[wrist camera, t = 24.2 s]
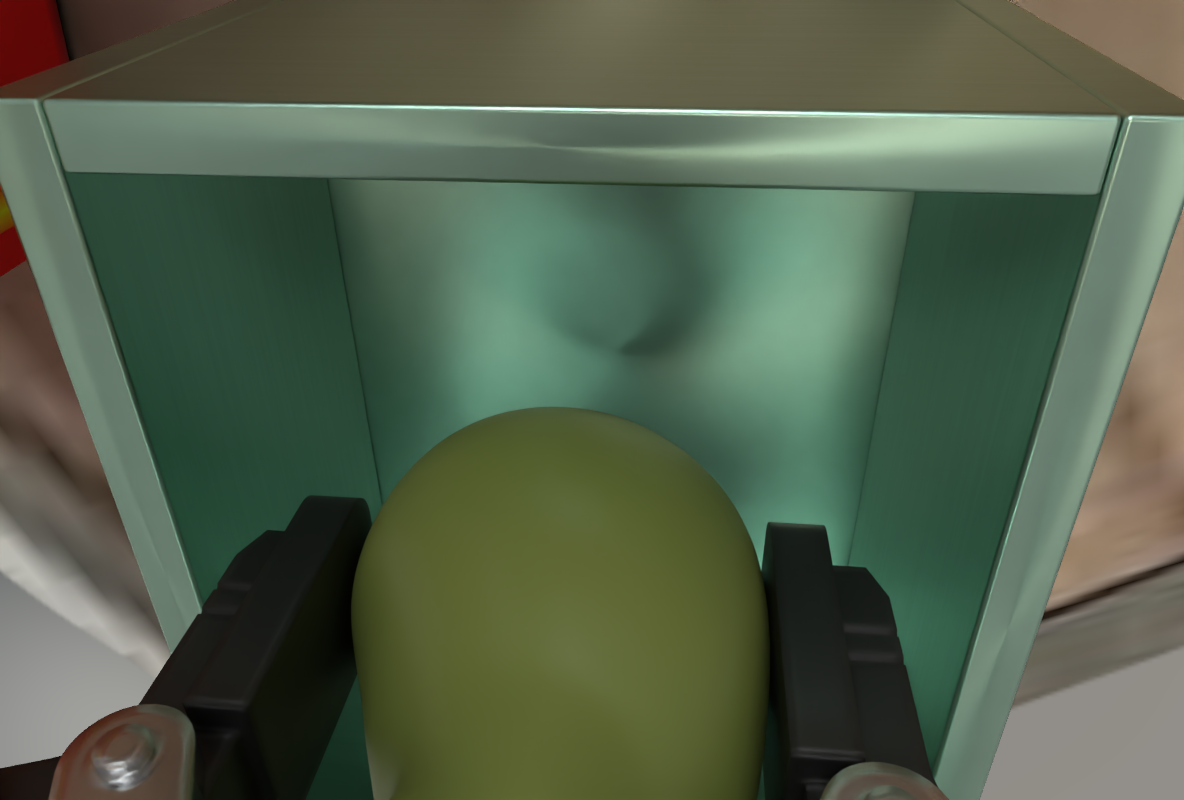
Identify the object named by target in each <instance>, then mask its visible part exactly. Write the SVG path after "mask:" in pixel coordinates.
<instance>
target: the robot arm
mask: <svg viewBox="0 0 1184 800" xmlns="http://www.w3.org/2000/svg"><path fill="white" fill-rule="evenodd" d="M371 527H372V521H371V515H370V510H369V506H368V504H367V502H366V500H365V499H363V498H355V497H337V496H319V495H309V496H307V497H306V498H305V499H304V500H303V502H302V503H301V505H300V506H299V508H298V510H297V511H296V513H295V515H294V516H293V518H292V520H291V521H290V523H289V525H288V526H287V528H286V530H285V531H277V530H267V531H265V532H264V533H263V534H262V535H260V536H259V537H258V538H256V539H255V540H254V541H253V542H251V543H250V544H249V545H248V546H246V547H245V548H244V549H242V550H241V551H240V552H239V553H237V554H236V556H235V557H234V559H233V560H232V562H231V563H230V565H229V566H228V568H227V569H226V571H225V573H224V574H223V576H222V577H221V579H220V580H219V582H218V583H217V584H218V586H217V589H214V590H213V591H212V593H211V594H210V596H209V597H208V599H207V600H206V602H205V603H204V605H203V606H202V612H201V614H197V616H196V617H195V619H194V620H193V622H192V623H191V625H190V627H189V628H188V630H187V631H186V633H185V634H184V636H183V637H182V639H181V640H180V642H179V643H178V645H177V647H176V648H175V650H174V651H173V653H172V654H171V656H170V657H169V659H168V660H167V662H166V664H165V665H164V667H163V668H162V670H161V671H160V673H159V674H158V676H157V677H156V679H155V681H154V682H153V684H152V685H151V687H150V688H149V690H148V691H147V693H146V694H145V696H144V697H143V699H142V701H141V702H140V703H139V705H137V706H132V707H129V708H125V709H122V710H119V711H117V712H114V713H112V714H109V715H108V716H106V717H104V718H102V719H100V720H98V721H97V722H96V723H94V724H92V725H91V726H89V727H88V728H87V729H85V730H84V731H83V732H82V733H81V734H79V735H78V736H77V738H75V739H74V741H73V742H72V743H71V744H70V745H69V746H68V748H67V749H66V750H65V752H64V753H63V755H62V756H59V757H55V758H51V759H46V760H41V761H36V762H31V763H26V764H21V765H15V766H11V767H5V768H0V800H306V797H307V795H308V792H309V790H310V788H311V785H312V783H313V780H314V778H315V775H316V773H317V771H318V768H319V766H320V763H321V761H322V758H323V756H324V754H325V751H326V749H327V746H328V744H329V742H330V739H331V737H332V734H333V732H334V729H335V727H336V725H337V722H338V720H339V717H340V715H341V712H342V710H343V708H344V705H345V703H346V700H347V698H348V695H349V693H350V691H351V688H352V686H353V683H354V681H355V679H356V676H357V668H356V661H355V654H354V647H353V638H352V625H351V600H352V590H353V583H354V578H355V573H356V568H357V565H358V561H359V558H360V554H361V551H362V548H363V546H364V543H365V540H366V538H367V535H368V533H369V531H370V529H371ZM761 572H762V576H763V581H764V586H765V592H766V599H767V606H768V616H769V629H770V686H769V703H768V716H767V728H766V738H765V747H764V756H763V776H764V792H765V800H949V799H948V798H947V797H946V795H945V794H944V793H943V792H942V791H941V790H940V789H939V788H938V786H937V784H936V782H935V780H934V778H933V775H932V772H931V769H930V765H929V761H928V757H927V753H926V749H925V744H924V740H923V736H922V732H921V728H920V724H919V719H918V715H917V711H916V707H915V703H914V698H913V694H912V690H911V686H910V682H909V677H908V673H907V669H906V665H904V656H903V652H902V648H901V644H900V640H899V637H897V627H896V623H895V619H894V614H893V610H892V606H891V602H890V598H889V596H888V595H887V593H886V592H885V591H884V590H883V588H882V587H881V586H880V585H879V583H878V582H877V581H876V579H875V578H874V577H873V576H872V574H871V573H870V572H869V571H868V569H867V568H866V567H855V566H838V565H833V564H832V558H831V552H830V547H829V541H828V535H827V530H826V527H825V525H816V524H798V523H780V522H768V524H767V527H766V534H765V543H764V551H763V560H762V569H761Z"/></svg>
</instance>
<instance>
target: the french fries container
mask: <svg viewBox="0 0 1184 800" xmlns="http://www.w3.org/2000/svg"><path fill="white" fill-rule="evenodd" d="M67 62H69V57H68V53H67V48H66V44H65V40H64V35H63V31H62V26H61V22H60V17H59V13H58V9H57V4H56V0H0V87H2V86H4V85H7V84H10V83H12V82H15V81H18V80H21V79H23V78H26V77H29V76H31V75H34V74H37V73H40V72H42V71H45V70H48V69H51V68H53V67H56V66H59V65H61V64H64V63H67ZM25 260H27V258H26V255H25V253H24V250H23V247H22V245H21V242H20V239H19V236H18V234H17V231H16V228H15V225H14V223H13V220H12V217H11V214H10V212H9V209H8V206H7V203H6V201H5V198H4V195H3V192H2V190H1V187H0V276H2V275H4V274H5V273H7V272H8V271H10V270H11V269H13V268H14V267H16V266H18V265H19V264H21V263H22V262H24V261H25Z"/></svg>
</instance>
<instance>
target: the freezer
mask: <svg viewBox="0 0 1184 800" xmlns="http://www.w3.org/2000/svg"><path fill="white" fill-rule="evenodd" d="M0 187H1V190H2V192H3V195H4V198H5V201H6V203H7V206H8V209H9V212H10V214H11V217H12V220H13V223H14V225H15V228H16V231H17V234H18V236H19V239H20V242H21V245H22V247H23V250H24V253H25V255H26V258H27V261H28V264H29V266H30V269H31V272H32V275H33V277H34V280H35V283H36V286H37V288H38V291H39V294H40V297H41V299H42V302H43V305H44V308H45V310H46V313H47V316H48V319H49V321H50V324H51V327H52V330H53V332H54V335H55V338H56V341H57V343H58V346H59V349H60V352H61V354H62V357H63V360H64V363H65V365H66V368H67V371H68V373H69V376H70V379H71V382H72V384H73V387H74V390H75V393H76V395H77V398H78V401H79V404H80V406H81V409H82V412H83V415H84V417H85V420H86V423H87V426H88V428H89V431H90V434H91V437H92V439H93V442H94V445H95V448H96V450H97V453H98V456H99V459H100V461H101V464H102V467H103V470H104V472H105V475H106V478H107V480H108V483H109V486H110V489H111V491H112V494H113V497H114V500H115V502H116V505H117V508H118V511H119V513H120V516H121V519H122V522H123V524H124V527H125V530H126V533H127V535H128V538H129V541H130V544H131V546H132V549H133V552H134V555H135V557H136V560H137V563H138V566H139V568H140V571H141V574H142V577H143V579H144V582H145V585H146V588H147V590H148V593H149V596H150V598H151V601H152V604H153V607H154V609H155V612H156V615H157V618H158V620H159V623H160V626H161V629H162V631H163V634H164V637H165V640H166V642H167V645H168V648H169V651H170V653H171V654H172V653H173V651H174V650H175V648H176V647H177V645H178V643H179V642H180V640H181V639H182V637H183V636H184V634H185V633H186V631H187V630H188V628H189V627H190V625H191V623H192V622H193V620H194V619H195V617H196V616H197V614H201V612H202V606H203V605H204V603H205V602H206V600H207V599H208V597H209V596H210V594H211V593H212V591H213V590H214V589H217V586H218V584H217V583H218V582H219V580H220V579H221V577H222V576H223V574H224V573H225V571H226V569H227V568H228V566H229V565H230V563H231V562H232V560H233V559H234V557H235V556H236V554H237V553H239V552H240V551H241V550H242V549H244V548H245V547H246V546H248V545H249V544H250V543H251V542H253V541H254V540H255V539H256V538H258V537H259V536H260V535H262V534H263V533H264V532H265V531H267V530H277V531H285V530H286V528H287V526H288V525H289V523H290V521H291V520H292V518H293V516H294V515H295V513H296V511H297V510H298V508H299V506H300V505H301V503H302V502H303V500H304V499H305V498H306V497H307V496H309V495H319V496H337V497H355V498H363V499H365V500H366V502H367V504H368V506H369V510H370V515H371V521H372V524H373V522H374V520H375V518H376V517H377V515H378V513H379V511H380V509H381V508H382V506H383V504H384V503H385V501H386V499H387V498H388V496H389V495H390V493H391V492H392V490H393V489H394V488H395V486H396V485H397V484H398V482H399V481H400V480H401V479H402V477H403V476H404V475H405V474H406V473H407V472H408V470H409V469H410V468H411V467H412V466H413V465H414V464H415V463H416V462H417V461H418V460H419V459H420V458H421V457H422V456H423V455H425V454H426V453H427V452H428V451H429V450H430V449H432V448H433V447H434V446H435V445H437V444H438V443H440V442H441V441H442V440H444V439H445V438H447V437H448V436H450V435H451V434H453V433H455V432H456V431H458V430H460V429H462V428H464V427H466V426H468V425H470V424H472V423H474V422H477V421H479V420H482V419H484V418H487V417H490V416H493V415H496V414H500V413H504V412H508V411H513V410H519V409H525V408H535V407H573V408H582V409H589V410H594V411H599V412H604V413H608V414H611V415H615V416H618V417H621V418H624V419H627V420H630V421H632V422H635V423H637V424H639V425H641V426H644V427H646V428H648V429H650V430H652V431H654V432H655V433H657V434H659V435H661V436H663V437H664V438H666V439H667V440H669V441H671V442H672V443H674V444H675V445H677V446H678V447H679V448H681V449H682V450H683V451H685V452H686V453H687V454H689V455H690V456H691V457H692V458H693V459H695V460H696V461H697V462H698V463H699V464H700V465H701V466H702V467H703V468H704V469H705V470H706V471H707V472H708V473H709V474H710V475H711V476H712V477H713V478H714V479H715V480H716V481H717V483H718V484H719V485H720V486H721V487H722V489H723V490H724V491H725V493H726V494H727V495H728V497H729V498H730V500H731V501H732V503H733V504H734V506H735V507H736V509H737V511H738V513H739V514H740V516H741V518H742V520H743V522H744V524H745V526H746V528H747V530H748V532H749V535H750V537H751V540H752V542H753V545H754V548H755V551H756V554H757V557H758V560H759V564H760V568H761V569H762V560H763V551H764V543H765V534H766V527H767V524H768V522H780V523H798V524H816V525H825V527H826V530H827V535H828V541H829V547H830V552H831V558H832V564H833V565H838V566H855V567H866V568H867V569H868V571H869V572H870V573H871V574H872V576H873V577H874V578H875V579H876V581H877V582H878V583H879V585H880V586H881V587H882V588H883V590H884V591H885V592H886V593H887V595H888V596H889V598H890V602H891V606H892V610H893V614H894V619H895V623H896V627H897V637H899V640H900V644H901V648H902V652H903V656H904V665H906V669H907V673H908V677H909V682H910V686H911V690H912V694H913V698H914V703H915V707H916V711H917V715H918V719H919V724H920V728H921V732H922V736H923V740H924V744H925V749H926V753H927V757H928V761H929V765H930V769H931V772H932V775H933V778H934V780H935V782H936V784H937V786H938V788H939V789H940V790H941V791H942V792H943V793H944V794H945V795H946V797H947V798H948V799H949V800H980V797H981V794H982V791H983V788H984V785H985V783H986V780H987V777H988V773H989V771H990V768H991V765H992V762H993V759H994V756H995V753H996V751H997V748H998V745H999V742H1000V739H1001V736H1002V733H1003V730H1004V727H1005V724H1006V721H1007V719H1008V716H1009V713H1010V710H1011V707H1012V704H1013V701H1014V698H1015V695H1016V692H1017V690H1018V687H1019V684H1020V681H1021V678H1022V675H1023V672H1024V669H1025V666H1026V663H1027V660H1028V658H1029V655H1030V652H1031V649H1032V646H1033V643H1034V640H1035V637H1036V634H1037V631H1038V628H1039V626H1040V623H1041V620H1042V617H1043V614H1044V611H1045V608H1046V605H1047V602H1048V599H1049V596H1050V594H1051V591H1052V588H1053V585H1054V582H1055V579H1056V576H1057V573H1058V570H1059V567H1060V564H1061V562H1062V559H1063V556H1064V553H1065V550H1066V547H1067V544H1068V541H1069V538H1070V535H1071V532H1072V530H1073V527H1074V524H1075V521H1076V518H1077V515H1078V512H1079V509H1080V506H1081V503H1082V501H1083V498H1084V495H1085V492H1086V489H1087V486H1088V483H1089V480H1090V477H1091V474H1092V471H1093V469H1094V466H1095V463H1096V460H1097V457H1098V454H1099V451H1100V448H1101V445H1102V442H1103V439H1104V437H1105V434H1106V431H1107V428H1108V425H1109V422H1110V419H1111V416H1112V413H1113V410H1114V407H1115V405H1116V402H1117V399H1118V396H1119V393H1120V390H1121V387H1122V384H1123V381H1124V378H1125V375H1126V373H1127V370H1128V367H1129V364H1130V361H1131V358H1132V355H1133V352H1134V349H1135V346H1136V343H1137V341H1138V338H1139V335H1140V332H1141V329H1142V326H1143V323H1144V320H1145V317H1146V314H1147V311H1148V309H1149V306H1150V303H1151V300H1152V297H1153V294H1154V291H1155V288H1156V285H1157V282H1158V280H1159V277H1160V274H1161V271H1162V268H1163V265H1164V262H1165V259H1166V256H1167V253H1168V250H1169V248H1170V245H1171V242H1172V239H1173V236H1174V233H1175V230H1176V227H1177V224H1178V221H1179V218H1180V216H1181V213H1182V210H1183V207H1184V100H1182V99H1181V98H1179V97H1177V96H1175V95H1174V94H1172V93H1170V92H1168V91H1166V90H1165V89H1163V88H1161V87H1159V86H1158V85H1156V84H1154V83H1152V82H1151V81H1149V80H1147V79H1145V78H1144V77H1142V76H1140V75H1138V74H1136V73H1135V72H1133V71H1131V70H1129V69H1128V68H1126V67H1124V66H1122V65H1121V64H1119V63H1117V62H1115V61H1114V60H1112V59H1110V58H1108V57H1107V56H1105V55H1103V54H1101V53H1099V52H1098V51H1096V50H1094V49H1092V48H1091V47H1089V46H1087V45H1085V44H1084V43H1082V42H1080V41H1078V40H1077V39H1075V38H1073V37H1071V36H1069V35H1068V34H1066V33H1064V32H1062V31H1061V30H1059V29H1057V28H1055V27H1054V26H1052V25H1050V24H1048V23H1047V22H1045V21H1043V20H1041V19H1040V18H1038V17H1036V16H1034V15H1032V14H1031V13H1029V12H1027V11H1025V10H1024V9H1022V8H1020V7H1018V6H1017V5H1015V4H1013V3H1011V2H1010V1H1008V0H235V1H233V2H230V3H227V4H224V5H222V6H219V7H216V8H214V9H211V10H208V11H205V12H203V13H200V14H197V15H195V16H192V17H189V18H186V19H184V20H181V21H178V22H176V23H173V24H170V25H167V26H165V27H162V28H159V29H157V30H154V31H151V32H148V33H146V34H143V35H140V36H137V37H135V38H132V39H129V40H127V41H124V42H121V43H118V44H116V45H113V46H110V47H108V48H105V49H102V50H99V51H97V52H94V53H91V54H89V55H86V56H83V57H80V58H78V59H75V60H72V61H70V62H67V63H64V64H61V65H59V66H56V67H53V68H51V69H48V70H45V71H42V72H40V73H37V74H34V75H31V76H29V77H26V78H23V79H21V80H18V81H15V82H12V83H10V84H7V85H4V86H2V87H0ZM306 800H374V797H373V789H372V782H371V775H370V769H369V762H368V755H367V748H366V740H365V731H364V720H363V711H362V701H361V693H360V686H359V680H358V674H357V676H356V679H355V681H354V683H353V686H352V688H351V691H350V693H349V695H348V698H347V700H346V703H345V705H344V708H343V710H342V712H341V715H340V717H339V720H338V722H337V725H336V727H335V729H334V732H333V734H332V737H331V739H330V742H329V744H328V746H327V749H326V751H325V754H324V756H323V758H322V761H321V763H320V766H319V768H318V771H317V773H316V775H315V778H314V780H313V783H312V785H311V788H310V790H309V792H308V795H307V797H306ZM757 800H765V792H764V776H763V764H762V771H761V778H760V784H759V790H758V796H757Z"/></svg>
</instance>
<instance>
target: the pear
mask: <svg viewBox="0 0 1184 800" xmlns="http://www.w3.org/2000/svg"><path fill="white" fill-rule="evenodd" d="M351 625H352V638H353V647H354V654H355V661H356V668H357V674H358V680H359V686H360V693H361V701H362V711H363V720H364V731H365V740H366V748H367V755H368V762H369V769H370V775H371V782H372V789H373V797H374V800H757V796H758V790H759V784H760V778H761V771H762V764H763V756H764V747H765V738H766V728H767V716H768V703H769V686H770V629H769V616H768V606H767V599H766V592H765V586H764V581H763V576H762V572H761V568H760V564H759V560H758V557H757V554H756V551H755V548H754V545H753V542H752V540H751V537H750V535H749V532H748V530H747V528H746V526H745V524H744V522H743V520H742V518H741V516H740V514H739V513H738V511H737V509H736V507H735V506H734V504H733V503H732V501H731V500H730V498H729V497H728V495H727V494H726V493H725V491H724V490H723V489H722V487H721V486H720V485H719V484H718V483H717V481H716V480H715V479H714V478H713V477H712V476H711V475H710V474H709V473H708V472H707V471H706V470H705V469H704V468H703V467H702V466H701V465H700V464H699V463H698V462H697V461H696V460H695V459H693V458H692V457H691V456H690V455H689V454H687V453H686V452H685V451H683V450H682V449H681V448H679V447H678V446H677V445H675V444H674V443H672V442H671V441H669V440H667V439H666V438H664V437H663V436H661V435H659V434H657V433H655V432H654V431H652V430H650V429H648V428H646V427H644V426H641V425H639V424H637V423H635V422H632V421H630V420H627V419H624V418H621V417H618V416H615V415H611V414H608V413H604V412H599V411H594V410H589V409H582V408H573V407H535V408H525V409H519V410H513V411H508V412H504V413H500V414H496V415H493V416H490V417H487V418H484V419H482V420H479V421H477V422H474V423H472V424H470V425H468V426H466V427H464V428H462V429H460V430H458V431H456V432H455V433H453V434H451V435H450V436H448V437H447V438H445V439H444V440H442V441H441V442H440V443H438V444H437V445H435V446H434V447H433V448H432V449H430V450H429V451H428V452H427V453H426V454H425V455H423V456H422V457H421V458H420V459H419V460H418V461H417V462H416V463H415V464H414V465H413V466H412V467H411V468H410V469H409V470H408V472H407V473H406V474H405V475H404V476H403V477H402V479H401V480H400V481H399V482H398V484H397V485H396V486H395V488H394V489H393V490H392V492H391V493H390V495H389V496H388V498H387V499H386V501H385V503H384V504H383V506H382V508H381V509H380V511H379V513H378V515H377V517H376V518H375V520H374V522H373V524H372V527H371V529H370V531H369V533H368V535H367V538H366V540H365V543H364V546H363V548H362V551H361V554H360V558H359V561H358V565H357V568H356V573H355V578H354V583H353V590H352V600H351Z"/></svg>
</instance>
